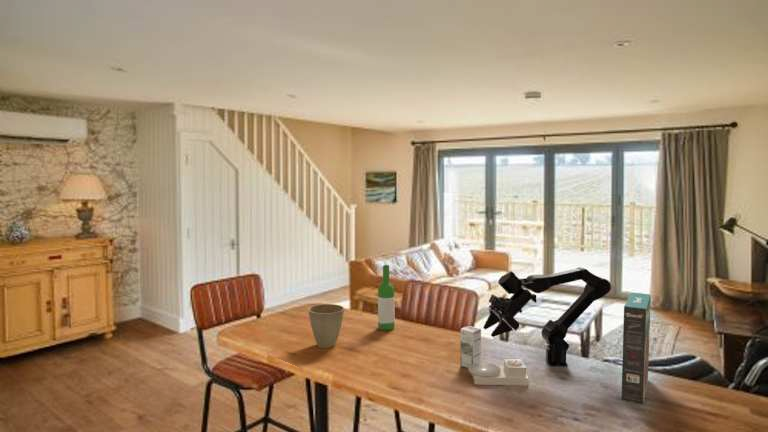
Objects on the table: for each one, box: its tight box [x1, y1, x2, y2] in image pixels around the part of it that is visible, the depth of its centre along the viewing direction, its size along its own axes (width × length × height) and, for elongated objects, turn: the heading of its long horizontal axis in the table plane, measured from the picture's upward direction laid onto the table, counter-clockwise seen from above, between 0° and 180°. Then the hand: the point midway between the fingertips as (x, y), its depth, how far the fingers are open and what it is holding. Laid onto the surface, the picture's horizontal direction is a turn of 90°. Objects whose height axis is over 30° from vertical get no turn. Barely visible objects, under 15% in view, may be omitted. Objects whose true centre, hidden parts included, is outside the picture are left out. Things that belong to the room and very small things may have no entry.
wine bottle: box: [377, 264, 396, 331], centre depth 230 cm, size 8×8×30 cm
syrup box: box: [460, 325, 482, 370], centre depth 182 cm, size 6×6×14 cm
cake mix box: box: [621, 292, 652, 405], centre depth 161 cm, size 22×6×30 cm, turn 148°
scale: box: [468, 358, 530, 386], centre depth 171 cm, size 20×11×6 cm, turn 87°
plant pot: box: [307, 303, 345, 349], centre depth 207 cm, size 15×15×16 cm
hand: (487, 332), depth 183 cm, fingers open, 9 cm apart
